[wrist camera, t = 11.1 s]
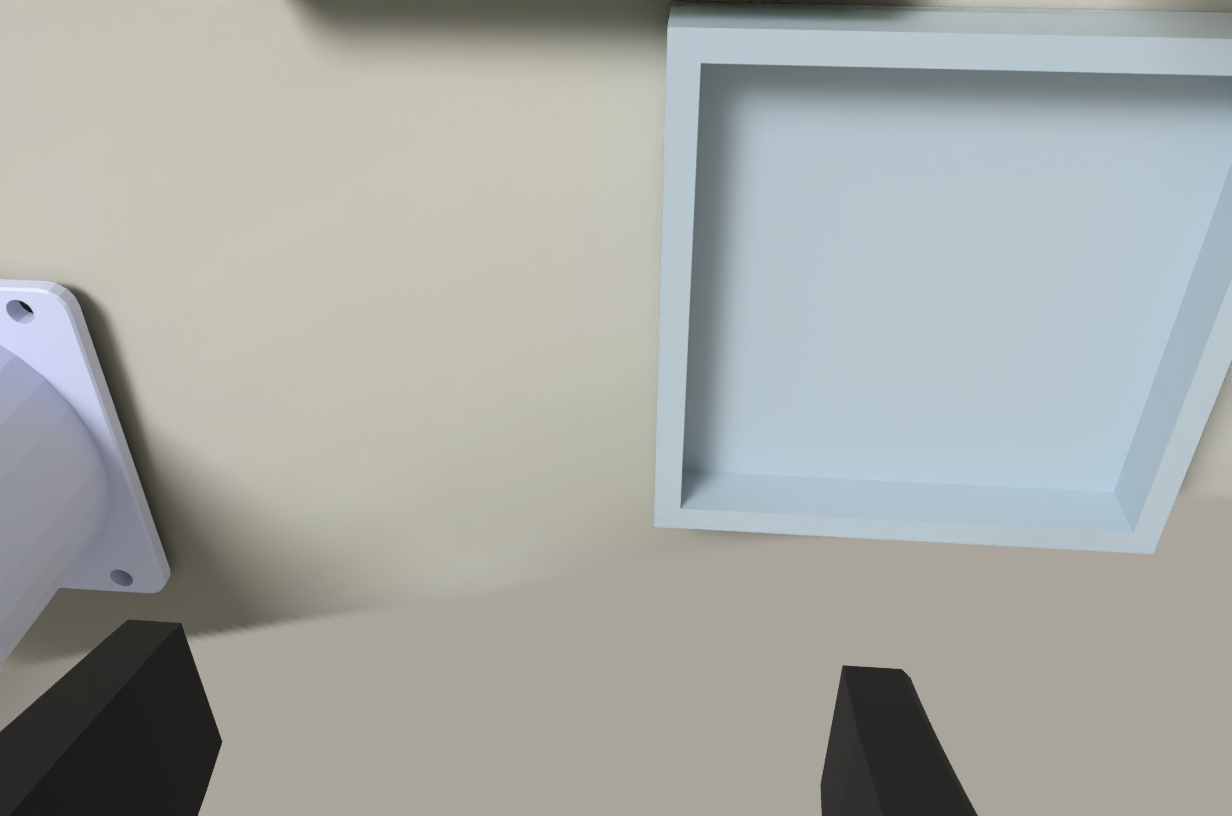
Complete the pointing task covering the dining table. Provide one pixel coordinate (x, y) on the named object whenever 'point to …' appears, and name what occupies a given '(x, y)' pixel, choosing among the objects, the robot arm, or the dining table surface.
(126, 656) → the robot arm
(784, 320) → the blue-grey tray
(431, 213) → the dining table surface
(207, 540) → the dining table surface
